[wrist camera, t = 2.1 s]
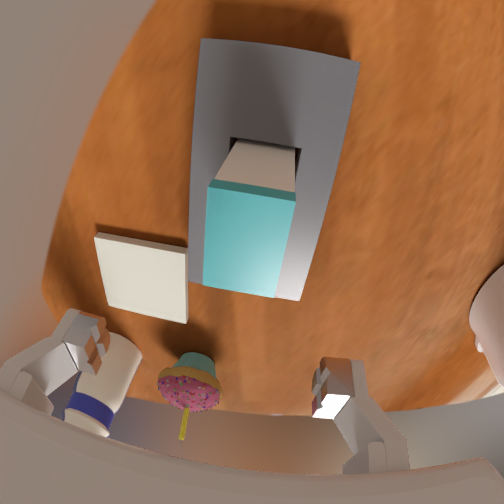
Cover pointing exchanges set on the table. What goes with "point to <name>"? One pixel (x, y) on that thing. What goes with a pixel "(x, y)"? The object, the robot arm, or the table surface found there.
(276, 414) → the table surface
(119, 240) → the mat
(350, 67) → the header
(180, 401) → the cupcake
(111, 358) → the water bottle
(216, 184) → the plug
